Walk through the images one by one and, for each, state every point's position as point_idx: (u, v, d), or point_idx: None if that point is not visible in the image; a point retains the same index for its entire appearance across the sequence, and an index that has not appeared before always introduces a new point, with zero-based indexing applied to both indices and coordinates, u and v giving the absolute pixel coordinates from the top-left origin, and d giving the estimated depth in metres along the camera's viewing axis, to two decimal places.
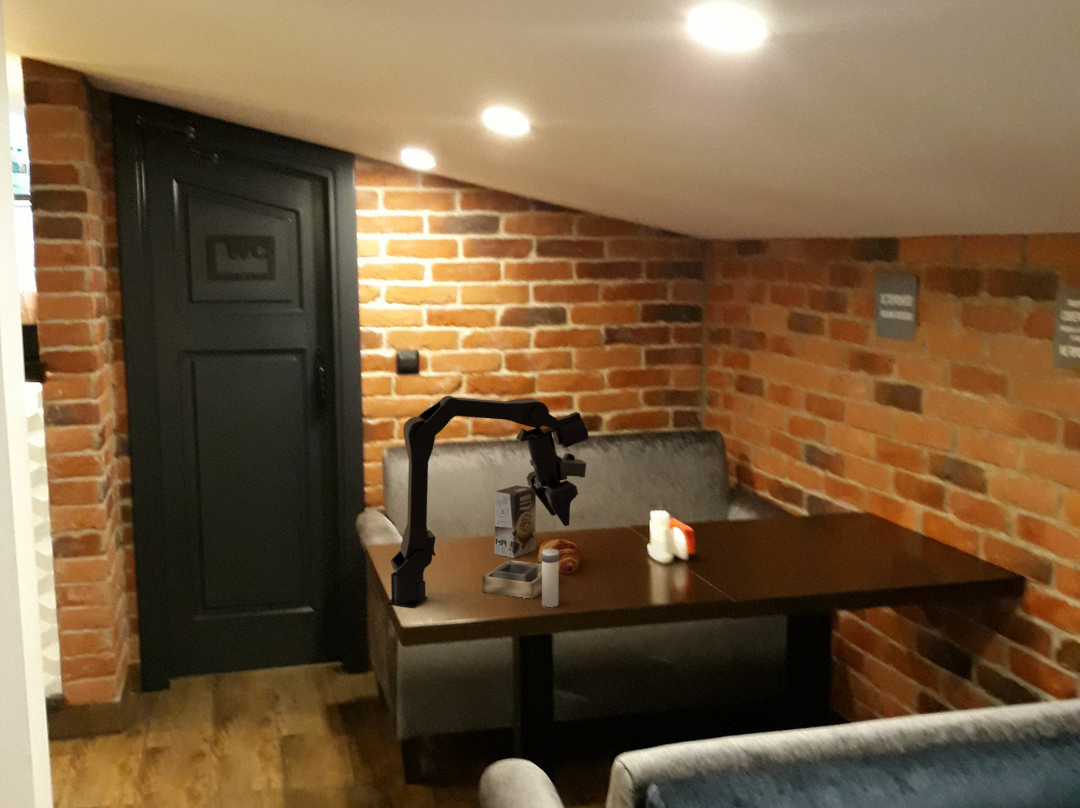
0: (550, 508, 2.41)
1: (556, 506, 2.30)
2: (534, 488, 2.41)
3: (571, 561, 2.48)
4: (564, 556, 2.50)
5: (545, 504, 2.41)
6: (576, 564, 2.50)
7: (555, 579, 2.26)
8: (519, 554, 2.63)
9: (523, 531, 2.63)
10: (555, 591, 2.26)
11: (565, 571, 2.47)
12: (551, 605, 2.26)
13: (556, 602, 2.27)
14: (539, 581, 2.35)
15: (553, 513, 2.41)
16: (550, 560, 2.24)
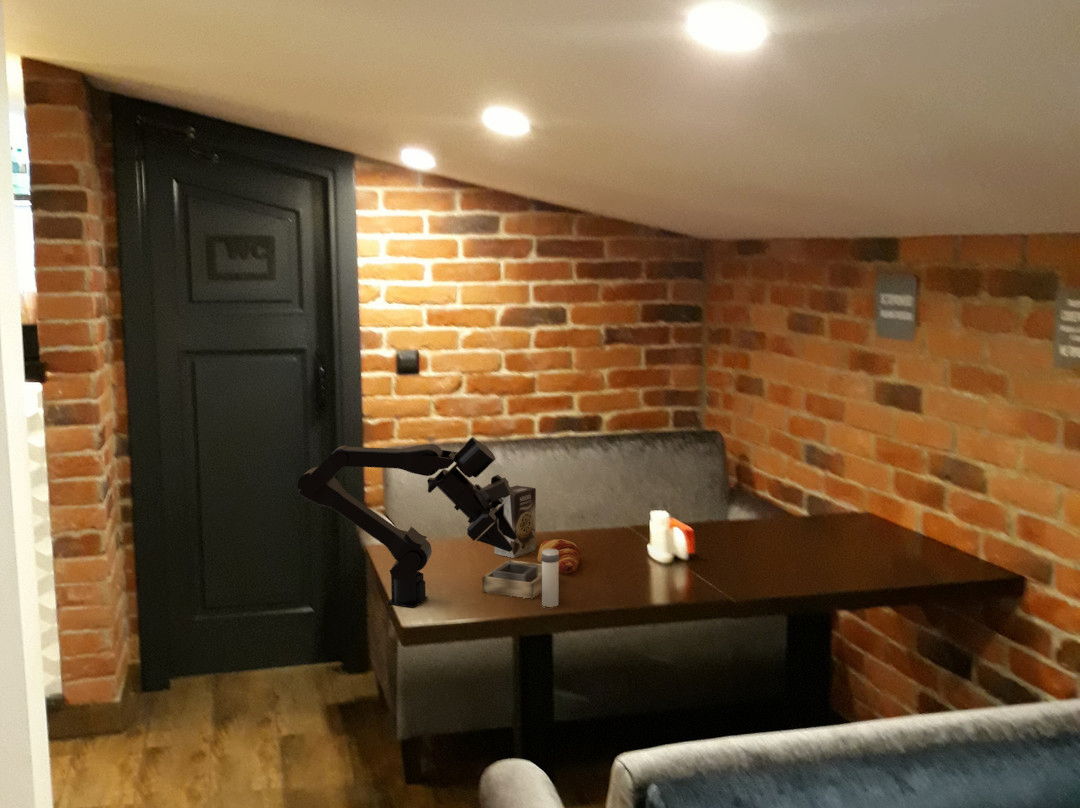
0: (508, 533, 2.31)
1: (486, 539, 2.20)
2: None
3: (570, 561, 2.48)
4: (564, 556, 2.50)
5: (501, 532, 2.31)
6: (575, 564, 2.50)
7: (555, 579, 2.26)
8: (519, 554, 2.63)
9: (523, 531, 2.63)
10: (555, 591, 2.26)
11: (564, 571, 2.47)
12: (551, 605, 2.26)
13: (556, 602, 2.27)
14: (539, 581, 2.35)
15: (513, 537, 2.31)
16: (550, 560, 2.24)
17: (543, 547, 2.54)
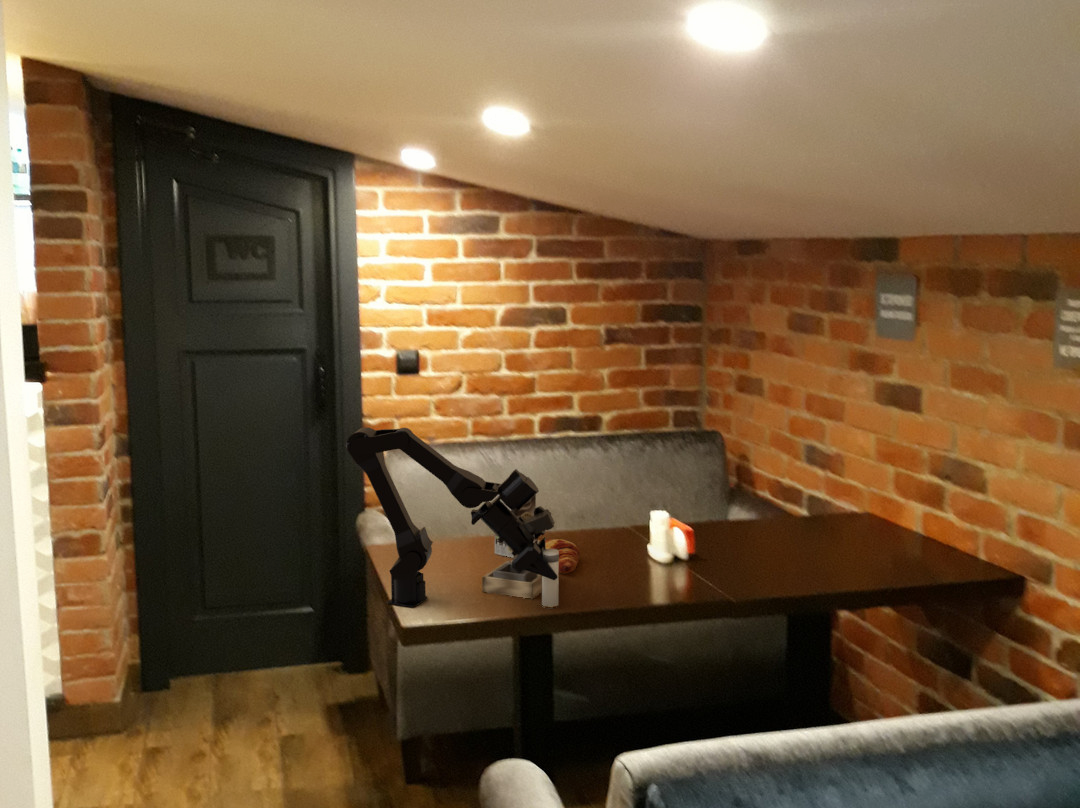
0: None
1: (531, 568, 2.23)
2: None
3: (569, 561, 2.48)
4: (562, 556, 2.50)
5: None
6: (574, 564, 2.49)
7: None
8: None
9: None
10: (555, 591, 2.26)
11: (563, 571, 2.47)
12: (551, 605, 2.26)
13: (556, 602, 2.27)
14: (539, 581, 2.35)
15: None
16: (550, 560, 2.24)
17: None
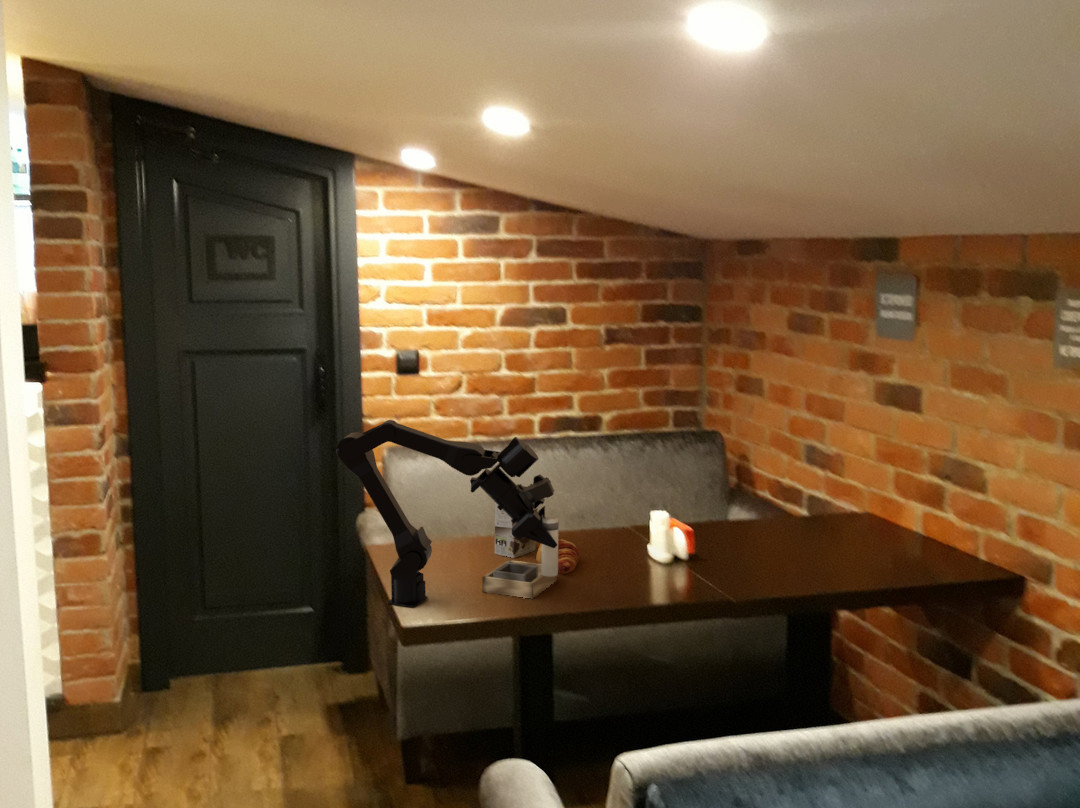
0: None
1: (531, 535, 2.22)
2: None
3: (568, 561, 2.48)
4: (562, 556, 2.50)
5: None
6: (573, 564, 2.49)
7: (555, 548, 2.25)
8: (519, 554, 2.63)
9: None
10: (554, 559, 2.25)
11: (562, 571, 2.47)
12: (551, 573, 2.25)
13: (556, 570, 2.26)
14: (539, 581, 2.35)
15: None
16: (550, 528, 2.24)
17: (541, 547, 2.54)
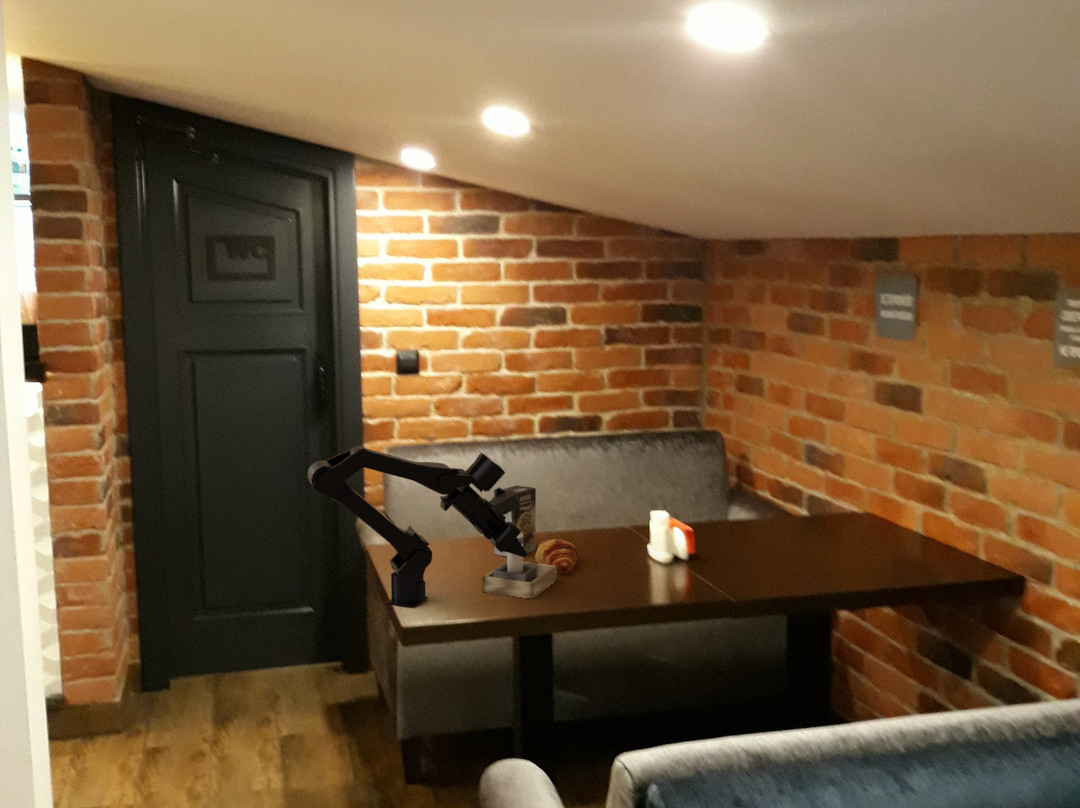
0: None
1: (506, 547, 2.31)
2: None
3: (566, 561, 2.48)
4: (560, 556, 2.50)
5: None
6: (571, 564, 2.49)
7: (522, 560, 2.36)
8: None
9: (523, 531, 2.63)
10: (522, 571, 2.36)
11: (559, 571, 2.47)
12: None
13: None
14: (539, 581, 2.35)
15: None
16: None
17: (540, 547, 2.54)
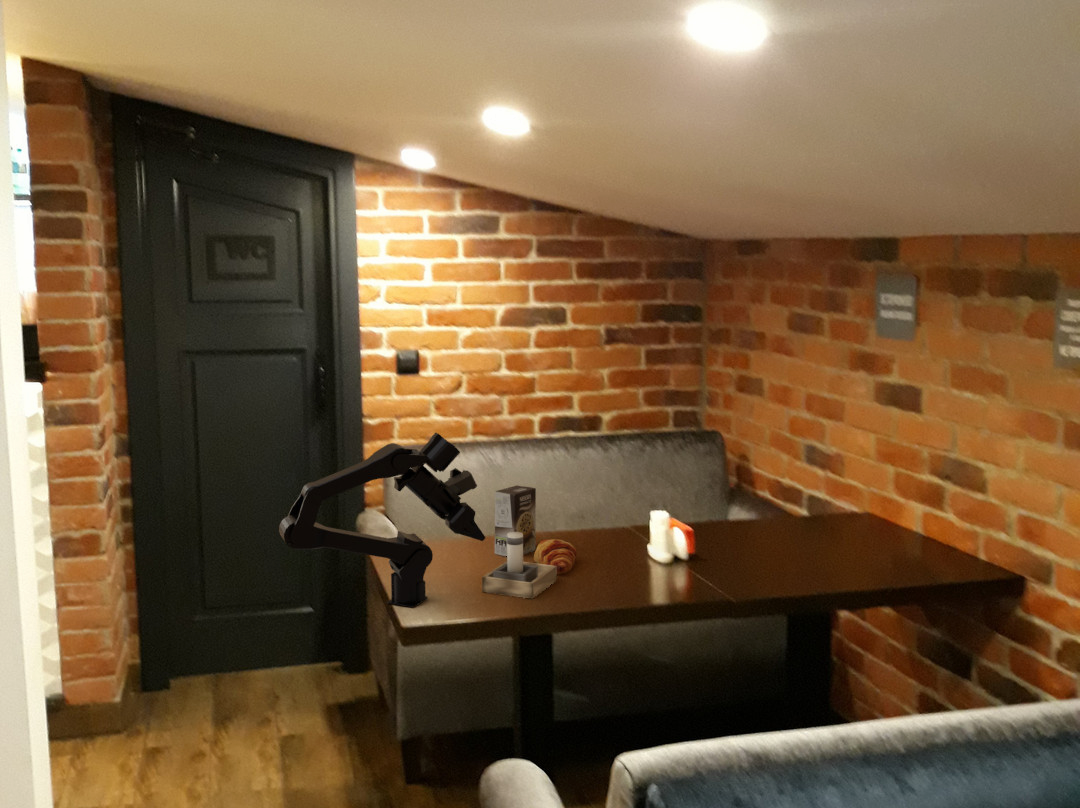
0: None
1: (463, 531, 2.25)
2: None
3: (563, 561, 2.48)
4: (558, 556, 2.50)
5: None
6: (569, 564, 2.49)
7: (522, 560, 2.36)
8: None
9: (523, 531, 2.63)
10: (522, 571, 2.36)
11: (557, 571, 2.47)
12: None
13: None
14: (539, 581, 2.35)
15: None
16: (518, 542, 2.35)
17: (539, 547, 2.55)
